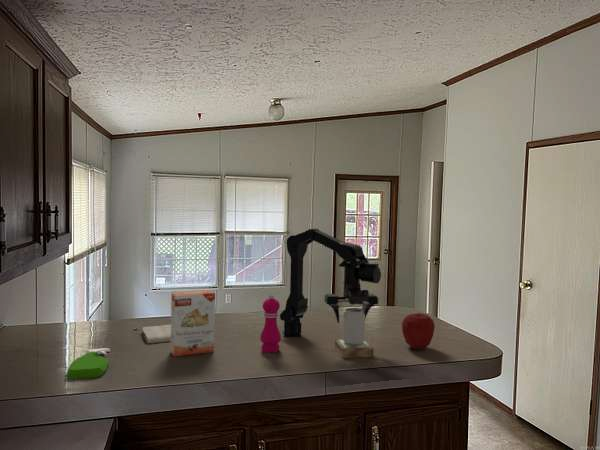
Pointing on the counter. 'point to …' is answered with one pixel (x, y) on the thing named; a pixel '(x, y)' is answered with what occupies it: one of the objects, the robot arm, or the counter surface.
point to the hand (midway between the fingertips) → (350, 322)
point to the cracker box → (192, 322)
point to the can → (354, 326)
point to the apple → (418, 330)
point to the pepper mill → (270, 326)
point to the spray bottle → (89, 365)
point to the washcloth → (157, 333)
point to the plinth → (353, 349)
